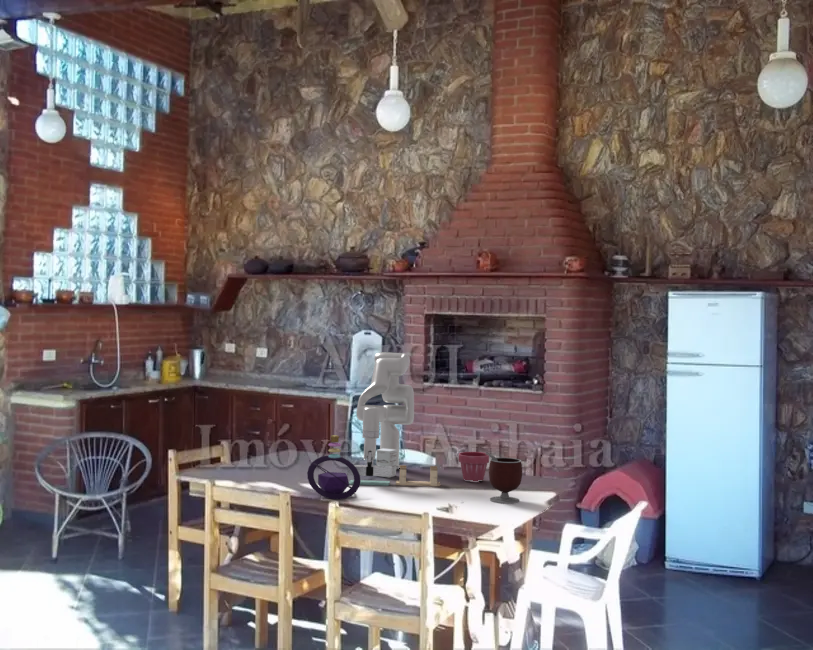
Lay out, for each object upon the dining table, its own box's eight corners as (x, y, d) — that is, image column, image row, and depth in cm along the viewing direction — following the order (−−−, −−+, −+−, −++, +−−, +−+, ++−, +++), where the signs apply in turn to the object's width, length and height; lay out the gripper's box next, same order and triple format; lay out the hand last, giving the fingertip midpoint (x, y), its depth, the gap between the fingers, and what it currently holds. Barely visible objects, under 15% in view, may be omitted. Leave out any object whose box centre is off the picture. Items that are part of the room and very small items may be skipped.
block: (347, 475, 395) (347, 466, 395) (347, 473, 399) (348, 464, 399) (391, 476, 395) (391, 467, 395) (391, 474, 399) (392, 466, 399)
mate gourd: (518, 497, 374) (519, 450, 374) (523, 504, 360) (525, 455, 360) (482, 497, 374) (483, 450, 374) (486, 503, 360) (487, 454, 360)
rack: (396, 482, 401) (396, 465, 401) (439, 483, 401) (440, 466, 401) (395, 485, 395) (396, 467, 395) (440, 486, 395) (440, 468, 395)
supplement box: (375, 476, 416) (376, 449, 416) (383, 474, 423) (383, 447, 423) (389, 478, 413) (389, 451, 413) (396, 475, 420) (397, 449, 419)
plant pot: (458, 483, 404) (459, 455, 404) (457, 477, 418) (458, 451, 418) (489, 484, 404) (490, 456, 404) (487, 478, 418) (488, 452, 418)
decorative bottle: (305, 499, 358) (307, 438, 358) (307, 489, 379) (309, 431, 379) (360, 500, 359) (362, 439, 359) (359, 490, 380) (361, 432, 380)
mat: (350, 481, 401) (350, 479, 401) (389, 482, 401) (389, 481, 401) (349, 484, 393) (349, 483, 393) (389, 485, 393) (389, 484, 393)
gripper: (363, 432, 406) (362, 471, 406) (361, 436, 389) (360, 477, 389) (379, 432, 406) (378, 472, 406) (378, 437, 389) (377, 478, 389)
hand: (369, 474), depth 397 cm, fingers closed on block, 4 cm apart
